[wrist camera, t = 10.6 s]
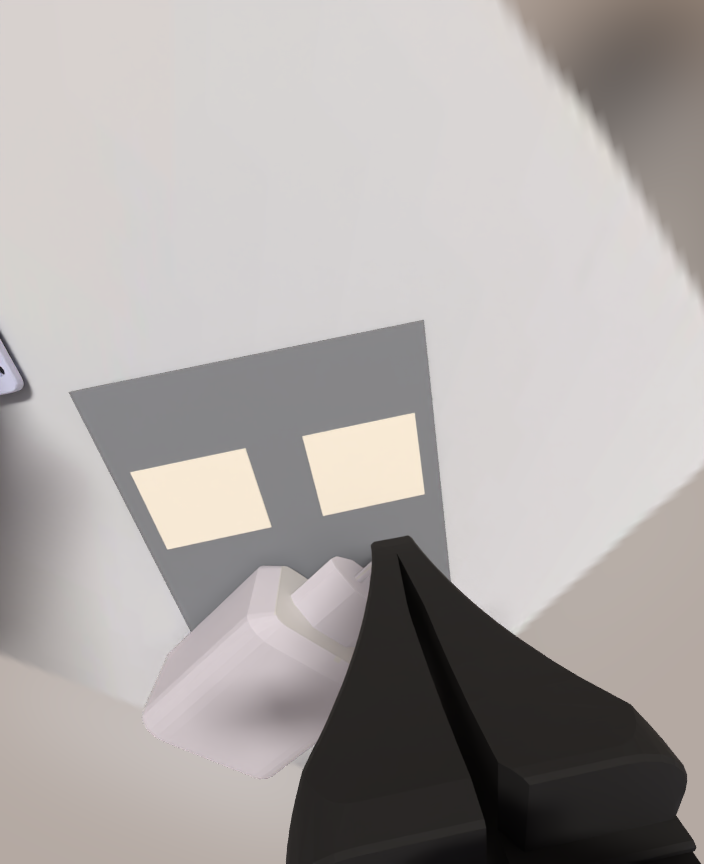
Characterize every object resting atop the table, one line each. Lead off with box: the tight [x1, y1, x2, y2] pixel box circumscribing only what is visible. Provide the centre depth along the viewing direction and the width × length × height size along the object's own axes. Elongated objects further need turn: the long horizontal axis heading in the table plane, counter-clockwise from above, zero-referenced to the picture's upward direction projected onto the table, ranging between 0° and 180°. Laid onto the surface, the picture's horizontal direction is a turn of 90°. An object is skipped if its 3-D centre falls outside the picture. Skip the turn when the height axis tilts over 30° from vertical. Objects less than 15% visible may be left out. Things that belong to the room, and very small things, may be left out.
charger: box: [142, 556, 372, 779], centre depth 19 cm, size 5×9×15 cm
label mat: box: [69, 320, 451, 632], centre depth 19 cm, size 18×17×1 cm
